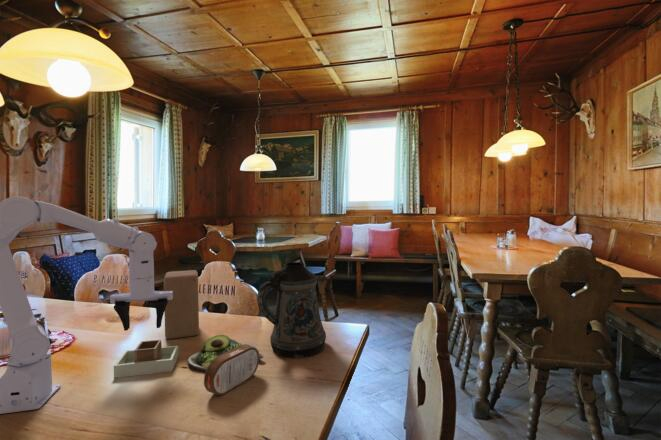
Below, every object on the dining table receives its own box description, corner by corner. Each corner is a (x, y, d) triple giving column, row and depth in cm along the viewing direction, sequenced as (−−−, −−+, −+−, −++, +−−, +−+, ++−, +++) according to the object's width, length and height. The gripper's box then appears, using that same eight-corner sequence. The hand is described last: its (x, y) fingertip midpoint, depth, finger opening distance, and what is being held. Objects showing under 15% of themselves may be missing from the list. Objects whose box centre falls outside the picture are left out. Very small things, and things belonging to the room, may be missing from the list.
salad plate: (276, 351, 101) (276, 335, 101) (243, 381, 84) (242, 362, 84) (220, 343, 107) (220, 328, 107) (178, 369, 90) (177, 352, 90)
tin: (252, 371, 88) (251, 338, 88) (261, 374, 87) (261, 341, 86) (203, 399, 75) (202, 361, 75) (212, 403, 74) (212, 365, 73)
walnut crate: (156, 367, 89) (155, 348, 89) (134, 369, 88) (134, 350, 87) (161, 357, 95) (161, 339, 94) (141, 359, 93) (141, 341, 93)
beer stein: (336, 343, 105) (336, 262, 104) (296, 369, 89) (295, 272, 88) (294, 332, 114) (293, 257, 113) (250, 353, 98) (249, 266, 97)
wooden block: (199, 336, 112) (197, 274, 111) (164, 340, 108) (163, 277, 107) (198, 326, 121) (197, 269, 120) (167, 330, 117) (165, 271, 116)
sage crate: (172, 371, 88) (172, 359, 88) (114, 377, 85) (113, 365, 85) (178, 355, 97) (178, 345, 97) (125, 361, 94) (125, 350, 93)
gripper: (174, 272, 96) (175, 320, 97) (116, 275, 93) (117, 325, 93) (169, 277, 89) (170, 329, 90) (106, 280, 86) (107, 334, 87)
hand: (143, 328), depth 91 cm, fingers open, 7 cm apart
